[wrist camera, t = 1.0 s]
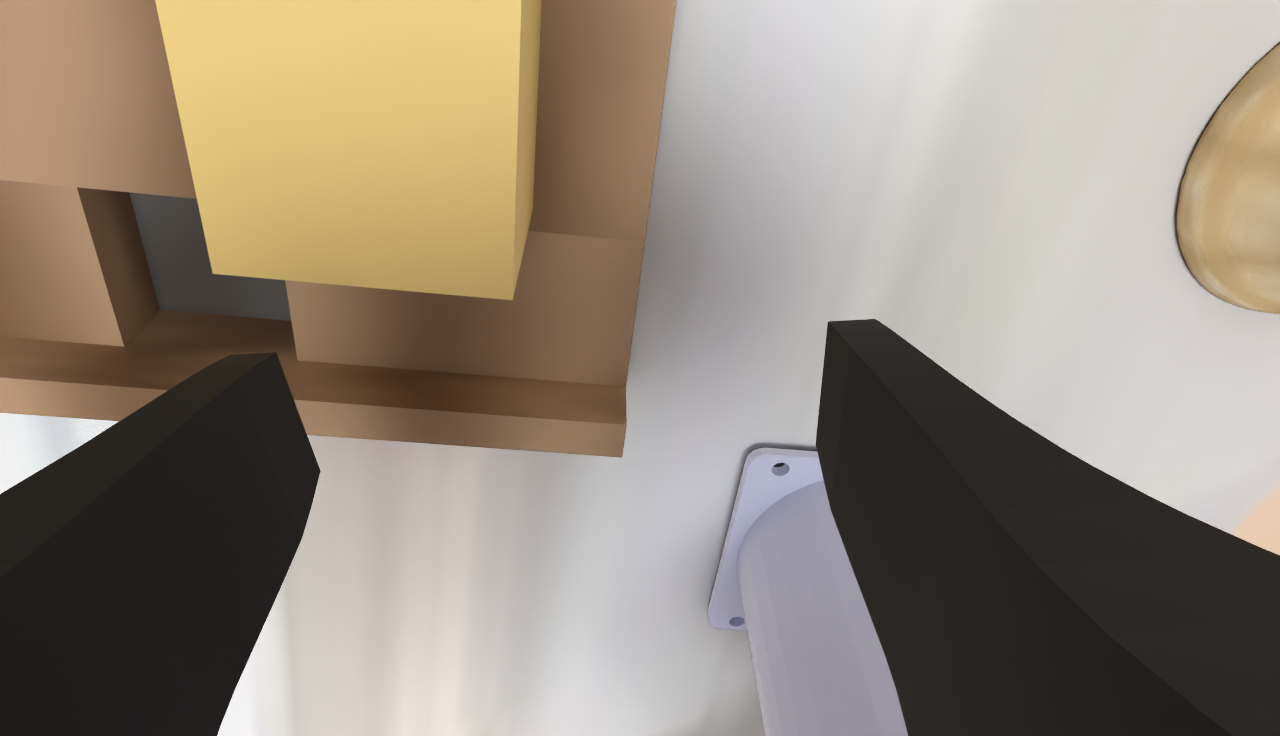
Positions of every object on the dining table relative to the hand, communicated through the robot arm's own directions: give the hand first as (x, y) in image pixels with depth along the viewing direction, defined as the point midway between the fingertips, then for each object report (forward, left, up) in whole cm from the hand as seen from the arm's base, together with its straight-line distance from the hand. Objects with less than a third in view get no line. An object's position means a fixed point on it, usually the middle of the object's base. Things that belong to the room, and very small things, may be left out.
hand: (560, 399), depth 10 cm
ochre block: (+4, -2, -8) cm, 8 cm away
